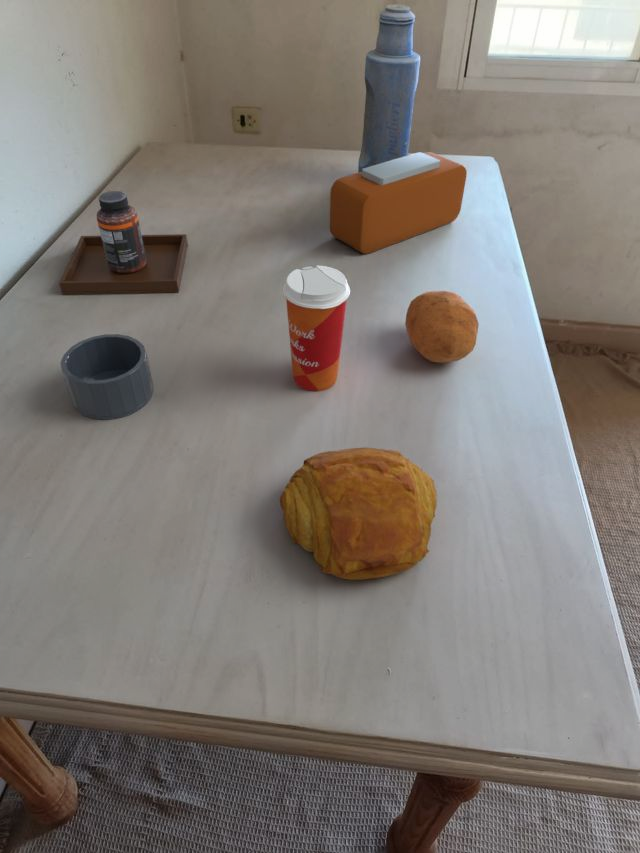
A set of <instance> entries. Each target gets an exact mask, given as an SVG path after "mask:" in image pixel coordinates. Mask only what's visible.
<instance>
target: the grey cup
mask: <svg viewBox="0 0 640 853" xmlns="http://www.w3.org/2000/svg"><path fill="white" fill-rule="evenodd" d="M60 368H61V373H62V375H63V376H62V377H63V379H64V382H65V384H66V388H67V390H68V393H69V397H70V399H71V402H72V404H73V407H74V408H75V410H76V411H77V412H78V413H79V414H81V415H82V416H84V417H87V418H90V419H93V420H103V421H104V420H105V421H106V420H115V419H121V418H124V417H128V416H130V415H132V414H135V413H137V412H138V411H139V410H141V409H142V408H143V407H145V406H146V405H147V404H148V403H149V401H150V400H151V399H152V396H153V394H154V383H153V378H152V372H151V369H150V364H149V359H148V355H147V351H146V348H145V345H143V343H141V342H140V340H139V339H136V338H134V337H133V336H129V335H125V334H119V333H107V334H105V333H104V334H99V335H95V336H91V337H88V338H86V339H82V340H81V341H78V342H77V343H75V344H74V345H72V346H71V347H69V349H67V351H66V352H65V353H64V354H63V356H62V358H61V361H60Z"/></svg>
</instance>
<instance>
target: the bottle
mask: <svg viewBox="0 0 640 853" xmlns="http://www.w3.org/2000/svg"><path fill="white" fill-rule="evenodd" d="M415 18H416V15H415V13H413V11H411V7H410V6H408V5H403V4H387V5H386V6H385V9H384V10H381V11H380V14H379V18H378V22H379V26H378V32H377V36H376V37H377V38H376V42H375V49H372V50H369V51H368V52H367V53H366V54H365V64H364V65H365V66H364V85H365V100H364V114H363V128H362V138H361V147H360V148H361V149H360V153H359V158H358V163H357V164H358V165H357V166H358V167H357V173H359V172H362V170H363V168H367V167H370V166H374V165H377V164H380V163H384V162H387V161H391V160H394V159H398V158H401V157H404V156H408V155H409V147H410V137H411V130H412V123H413V122H412V120H413V111H414V102H415V96H416V92H417V87H418V83H419V75H420V65H421V56H420V54H419V53H417V52H415V51H413V47H414V39H413V38H414V37H413V35H414V34H413V33H414V32H413V31H414V23H415V20H416V19H415Z"/></svg>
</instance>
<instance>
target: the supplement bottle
mask: <svg viewBox="0 0 640 853" xmlns="http://www.w3.org/2000/svg"><path fill="white" fill-rule="evenodd" d="M98 202H99V206H100V208H99V209H98V211H97V212H96V222H97V226H98V230H99V232H100V233H99V235H100V236H101V238H102V242H103V246H104V250H105V254H106V258H107V262H108V265H109V268H110V269H111V270H112V271H114V272H117V273H133V272H136V271H138V270H140V269H142V268H143V267H144V266H145V265H146V255H145V249H144V245H143V240H142V235H143V234H142V231H141V225H140V220H139V216H138V212H137V210H136V209H135V208H134V207H133V206H132V205H130V204H129V200H128V196H127V193H125V192H124V191H121V190H109V191H105V192H103V193H101V194H100V195H99V196H98Z"/></svg>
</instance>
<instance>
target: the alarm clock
mask: <svg viewBox="0 0 640 853" xmlns="http://www.w3.org/2000/svg"><path fill="white" fill-rule="evenodd" d="M467 172H468V171H467V168H466V167H465V166H464V164H461V163H458V162H456V161H453V160H451V159H449V158H446V157H444V156H441V155H439V154H436V153H434V152H431V151H430V152H429V151H427V152H421V151H419V152H415V153H411V154H408V156H404V157H401V158H398V159H394V160H391V161H387V162H384V163H380V164H377V165H374V166H370V167H367V168H363V170H362V172H359V173H358V172H355V173H353V174H349V175H345V176H342V177H339V178H338V179H336V180H335V181H334V182H333V184H332V185H331V188H330V194H329V195H330V196H329V233H330V234H331V236H332V237H335V239H338V240H339V241H341V242H342V243H344V244H345V245H348V246H350V247H352V248H353V249H355V250H356V251H358V252H359V253H361V254H363V255H367V254H370V253H375V252H377V251H379V250H382V249H385V248H387V247H389V246H392V245H395V244H398V243H400V242H404V241H406V240H409V239H411V238H414V237H416V236H419V235H421V234H424V233H427V232H429V231H432V230H434V229H437V228H440V227H443V226H446V225H449V224H451V223H453V222H454V221H456V220H457V218H458V217H459V215H460V212H461V209H462V203H463V198H464V194H465V193H464V192H465V187H466V181H467Z"/></svg>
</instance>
